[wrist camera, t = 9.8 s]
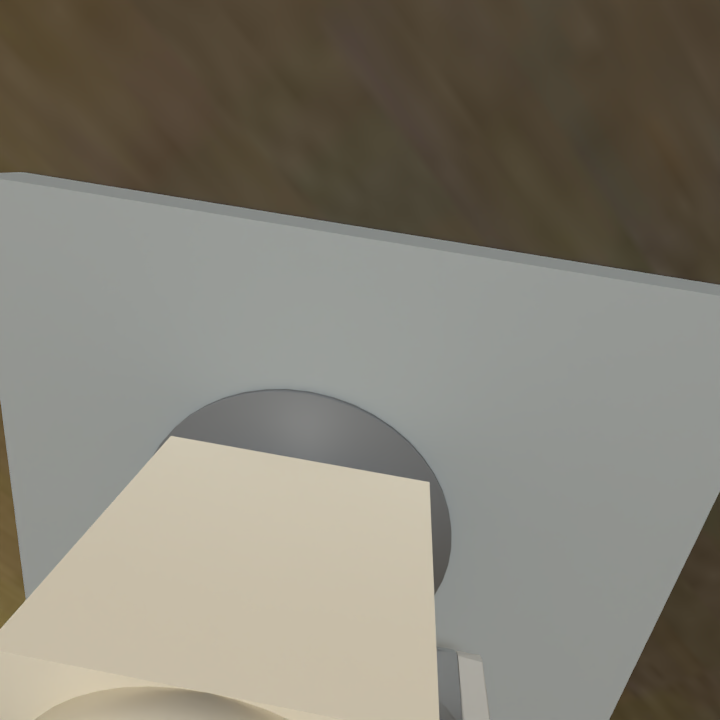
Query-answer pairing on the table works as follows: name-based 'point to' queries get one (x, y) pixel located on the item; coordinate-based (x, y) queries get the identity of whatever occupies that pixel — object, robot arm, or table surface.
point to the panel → (377, 404)
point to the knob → (235, 598)
